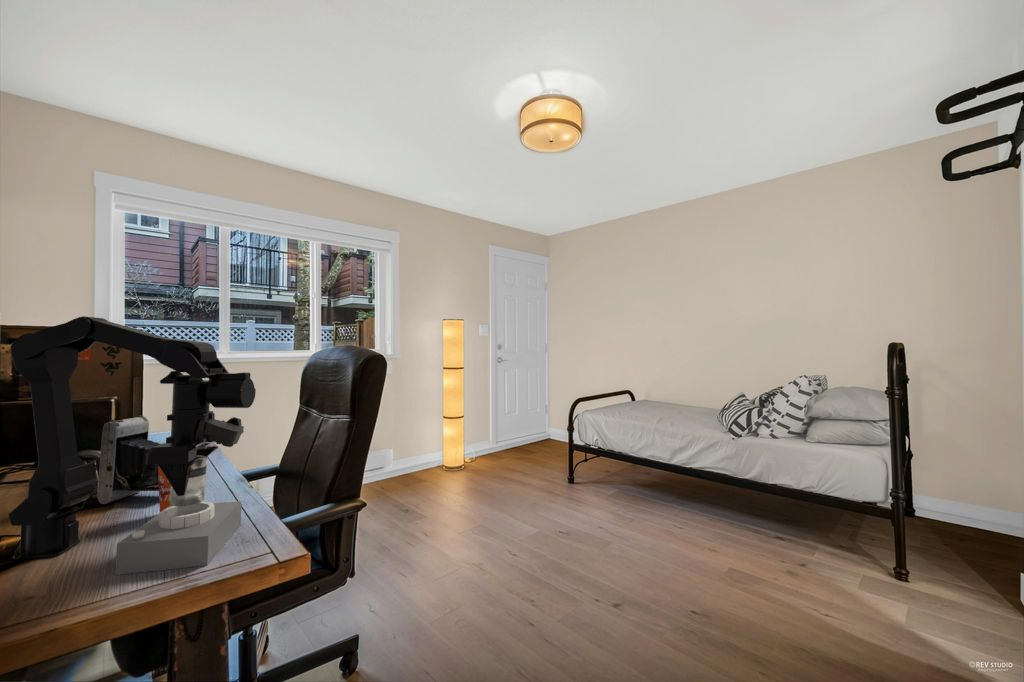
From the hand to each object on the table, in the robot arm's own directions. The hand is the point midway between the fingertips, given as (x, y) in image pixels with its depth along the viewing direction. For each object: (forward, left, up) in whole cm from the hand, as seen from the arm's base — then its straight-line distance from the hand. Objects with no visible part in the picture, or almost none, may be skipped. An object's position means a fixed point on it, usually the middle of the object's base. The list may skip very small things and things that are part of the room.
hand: (187, 490), depth 82 cm
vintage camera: (-21, +33, -11) cm, 41 cm away
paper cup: (-9, +19, -11) cm, 24 cm away
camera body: (0, 0, -10) cm, 10 cm away
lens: (0, 0, -2) cm, 2 cm away
